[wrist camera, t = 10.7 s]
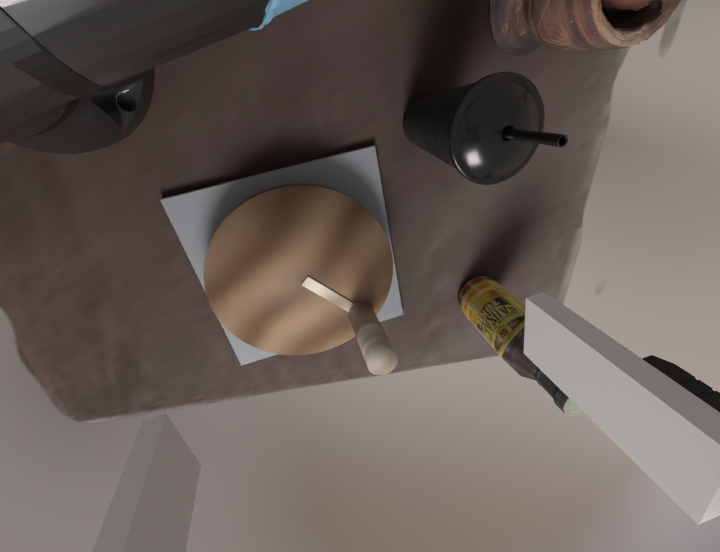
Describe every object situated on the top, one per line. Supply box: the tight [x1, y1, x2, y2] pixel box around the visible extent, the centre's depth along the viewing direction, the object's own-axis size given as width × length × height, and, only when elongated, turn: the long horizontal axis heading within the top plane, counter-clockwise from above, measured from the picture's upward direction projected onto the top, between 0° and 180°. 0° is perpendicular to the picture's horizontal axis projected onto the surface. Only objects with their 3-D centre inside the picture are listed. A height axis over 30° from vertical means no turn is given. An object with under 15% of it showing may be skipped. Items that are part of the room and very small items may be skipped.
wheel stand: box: [160, 145, 403, 365], centre depth 41 cm, size 22×22×1 cm
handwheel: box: [203, 183, 398, 375], centre depth 35 cm, size 20×20×12 cm
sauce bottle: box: [458, 276, 584, 416], centre depth 41 cm, size 6×6×20 cm
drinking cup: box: [403, 72, 568, 185], centre depth 29 cm, size 8×8×20 cm
